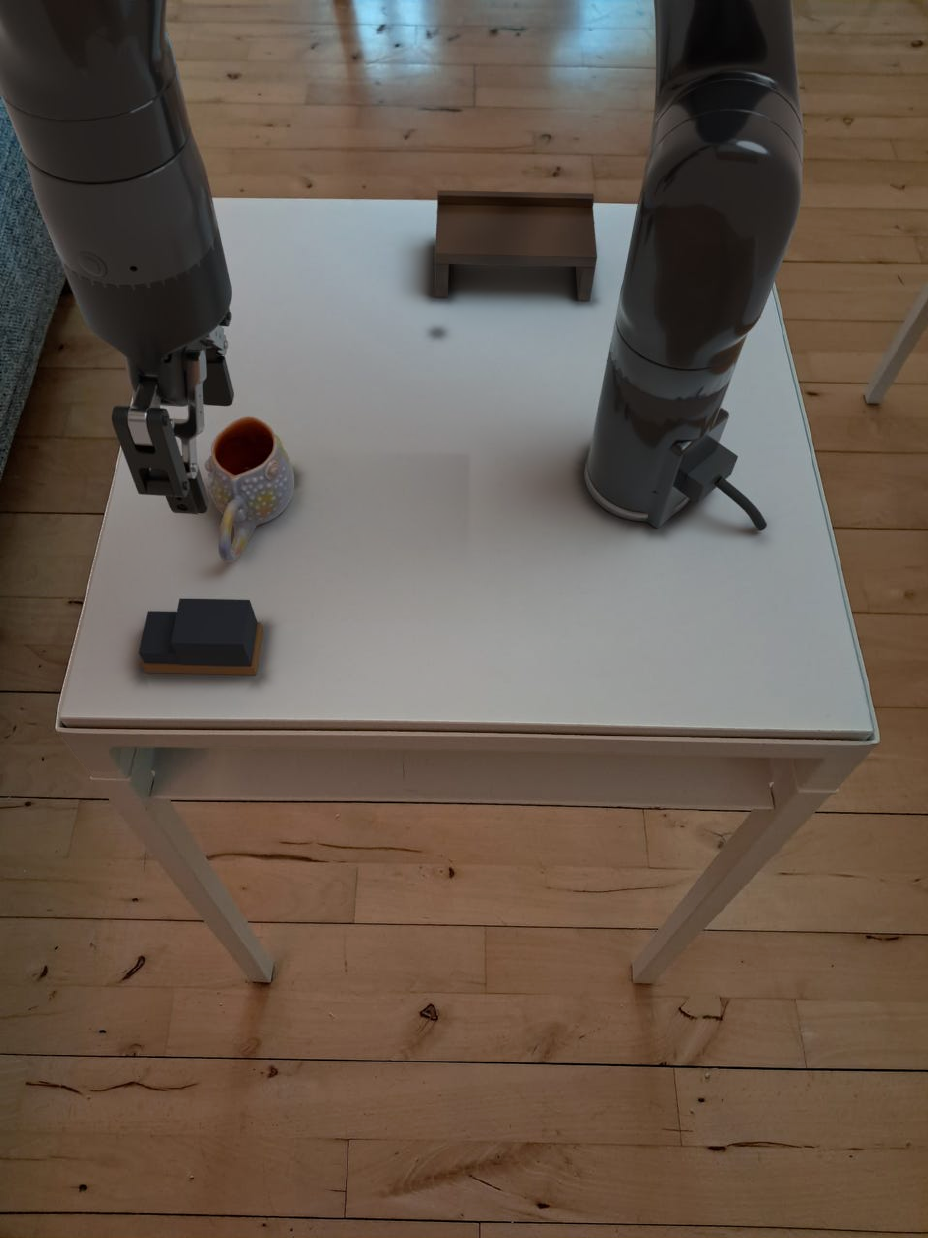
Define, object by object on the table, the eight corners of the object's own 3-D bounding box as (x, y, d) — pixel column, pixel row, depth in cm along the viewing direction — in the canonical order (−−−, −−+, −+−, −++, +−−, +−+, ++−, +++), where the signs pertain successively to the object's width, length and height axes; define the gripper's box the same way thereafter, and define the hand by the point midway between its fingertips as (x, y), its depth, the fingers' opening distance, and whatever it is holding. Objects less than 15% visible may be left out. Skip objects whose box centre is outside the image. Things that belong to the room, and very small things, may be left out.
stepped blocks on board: (263, 629, 73) (252, 598, 69) (257, 675, 71) (245, 646, 67) (155, 627, 73) (138, 596, 69) (145, 673, 71) (127, 643, 67)
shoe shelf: (586, 247, 96) (594, 192, 91) (590, 300, 92) (598, 247, 87) (437, 244, 96) (437, 189, 91) (435, 297, 92) (434, 244, 87)
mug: (229, 459, 82) (213, 405, 76) (306, 470, 81) (295, 417, 75) (186, 573, 76) (164, 524, 70) (268, 586, 75) (254, 537, 69)
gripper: (185, 338, 40) (246, 551, 54) (240, 138, 48) (282, 372, 62) (10, 327, 40) (116, 544, 54) (92, 128, 47) (167, 365, 61)
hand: (204, 452), depth 58 cm, fingers open, 8 cm apart
